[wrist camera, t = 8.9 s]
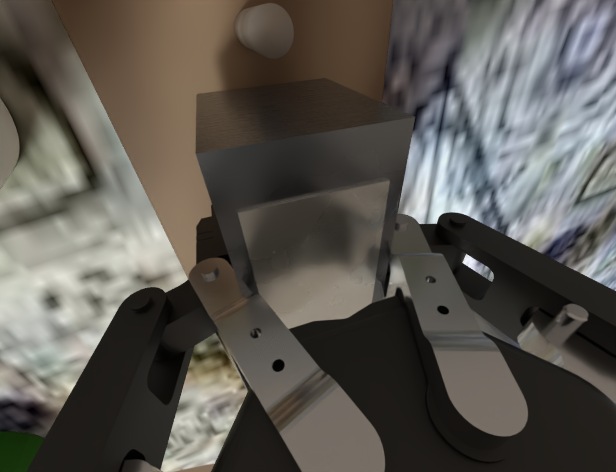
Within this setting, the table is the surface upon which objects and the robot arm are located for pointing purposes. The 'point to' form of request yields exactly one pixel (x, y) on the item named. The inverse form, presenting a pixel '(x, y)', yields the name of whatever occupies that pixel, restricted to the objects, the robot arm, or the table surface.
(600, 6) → the table surface
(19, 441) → the candle
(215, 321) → the robot arm
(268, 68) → the tray
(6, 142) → the cup
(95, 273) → the table surface
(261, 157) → the block
